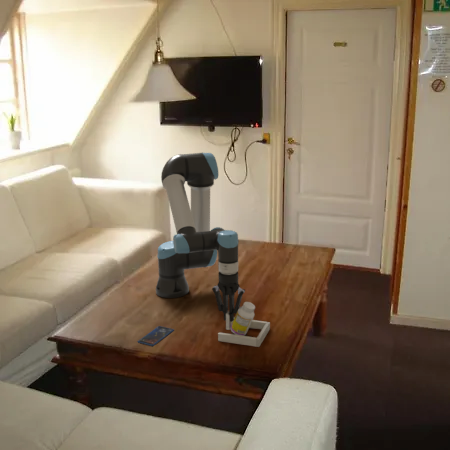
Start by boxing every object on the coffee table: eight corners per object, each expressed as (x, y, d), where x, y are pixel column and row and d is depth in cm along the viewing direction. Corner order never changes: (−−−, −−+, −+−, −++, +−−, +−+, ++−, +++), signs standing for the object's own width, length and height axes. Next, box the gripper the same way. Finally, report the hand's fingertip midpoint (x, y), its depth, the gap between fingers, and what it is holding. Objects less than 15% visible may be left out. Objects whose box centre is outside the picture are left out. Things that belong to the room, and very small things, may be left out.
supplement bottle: (236, 324, 230) (248, 298, 224) (249, 334, 226) (261, 308, 221) (226, 328, 224) (238, 302, 219) (238, 339, 221) (250, 312, 216)
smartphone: (136, 341, 221) (158, 325, 234) (136, 343, 221) (159, 327, 234) (152, 345, 218) (174, 329, 230) (153, 347, 218) (174, 330, 230)
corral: (218, 340, 221) (218, 333, 220) (231, 323, 235) (230, 317, 234) (259, 347, 216) (259, 339, 215) (269, 329, 229) (269, 322, 229)
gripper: (208, 272, 218) (209, 330, 225) (241, 276, 214) (241, 334, 221) (215, 266, 225) (216, 322, 232) (247, 269, 221) (247, 326, 227)
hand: (228, 328), depth 226 cm, fingers closed
